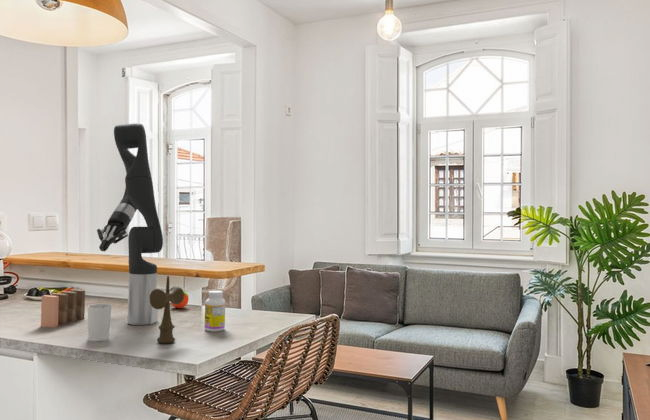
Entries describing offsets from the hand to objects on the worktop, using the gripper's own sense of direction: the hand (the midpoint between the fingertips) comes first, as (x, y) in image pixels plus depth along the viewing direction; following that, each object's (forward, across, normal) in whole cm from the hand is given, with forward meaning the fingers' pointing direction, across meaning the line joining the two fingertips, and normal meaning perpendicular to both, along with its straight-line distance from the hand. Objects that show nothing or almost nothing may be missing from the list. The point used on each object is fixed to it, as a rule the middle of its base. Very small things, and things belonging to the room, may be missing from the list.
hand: (102, 249), depth 206 cm
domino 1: (+36, 0, -3) cm, 36 cm away
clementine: (+5, +24, +28) cm, 38 cm away
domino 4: (+26, 0, +7) cm, 27 cm away
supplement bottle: (+26, +52, +7) cm, 58 cm away
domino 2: (+32, 0, 0) cm, 33 cm away
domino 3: (+29, 0, +3) cm, 29 cm away
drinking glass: (+42, +25, -9) cm, 50 cm away
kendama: (+40, +45, -8) cm, 61 cm away
